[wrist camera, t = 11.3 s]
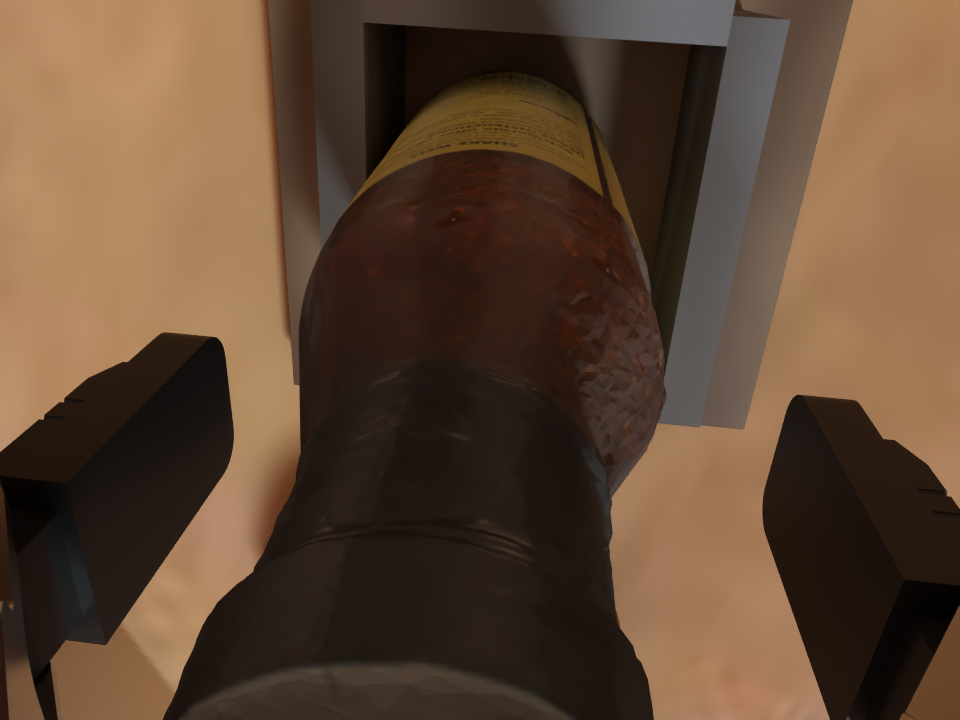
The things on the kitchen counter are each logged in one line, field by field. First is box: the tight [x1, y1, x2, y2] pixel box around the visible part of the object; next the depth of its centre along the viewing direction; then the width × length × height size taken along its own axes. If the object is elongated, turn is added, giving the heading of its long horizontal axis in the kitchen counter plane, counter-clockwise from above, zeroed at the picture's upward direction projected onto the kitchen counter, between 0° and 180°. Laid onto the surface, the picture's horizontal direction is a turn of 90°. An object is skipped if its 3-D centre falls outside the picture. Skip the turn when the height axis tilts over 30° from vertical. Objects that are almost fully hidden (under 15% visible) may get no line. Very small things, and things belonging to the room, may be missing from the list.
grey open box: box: [268, 0, 853, 441], centre depth 22 cm, size 16×16×6 cm
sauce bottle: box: [163, 69, 667, 720], centre depth 14 cm, size 6×6×20 cm
